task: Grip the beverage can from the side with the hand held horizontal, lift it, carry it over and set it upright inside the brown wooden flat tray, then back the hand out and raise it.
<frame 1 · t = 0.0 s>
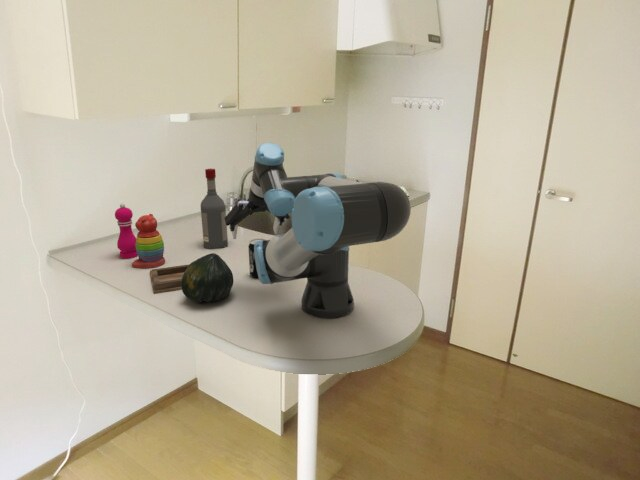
hand: (254, 233, 157), 15 cm above the countertop, tool tilted 35°, fingers open, 13 cm apart
liquor: (215, 245, 192), on the countertop
brown wooden flat tray: (175, 281, 158), on the countertop
pepper mill: (129, 256, 181), on the countertop
squash: (209, 298, 147), on the countertop
beverage can: (259, 275, 163), on the countertop
stacking bear: (151, 263, 173), on the countertop
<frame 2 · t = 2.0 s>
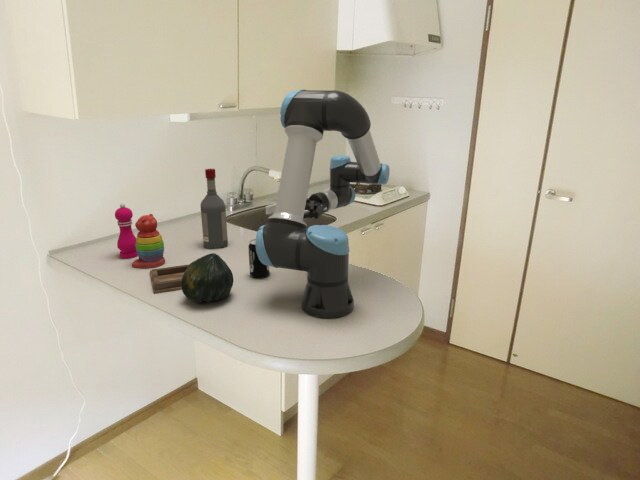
hand: (279, 214, 164), 19 cm above the countertop, tool horizontal, fingers open, 13 cm apart
nothing on the countertop moved.
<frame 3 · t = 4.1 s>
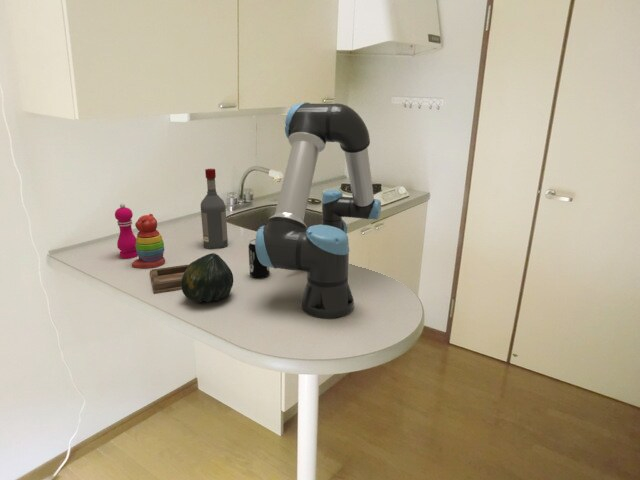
hand: (270, 251, 165), 7 cm above the countertop, tool horizontal, fingers open, 13 cm apart
nothing on the countertop moved.
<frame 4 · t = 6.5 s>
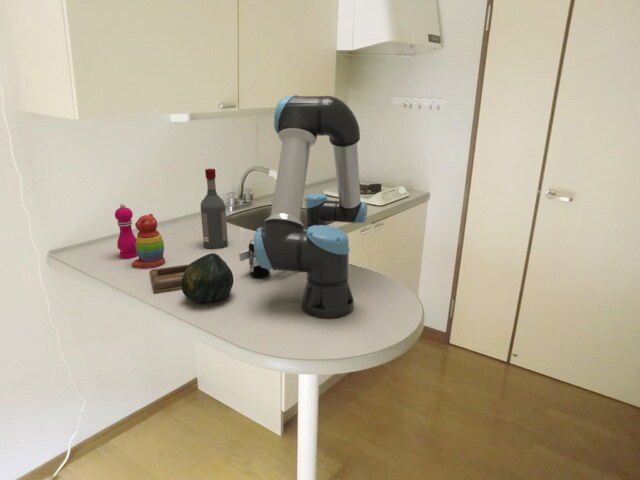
hand: (247, 259, 157), 7 cm above the countertop, tool horizontal, fingers closed on beverage can, 6 cm apart
beverage can: (259, 275, 163), on the countertop, touching gripper
everything else where it was.
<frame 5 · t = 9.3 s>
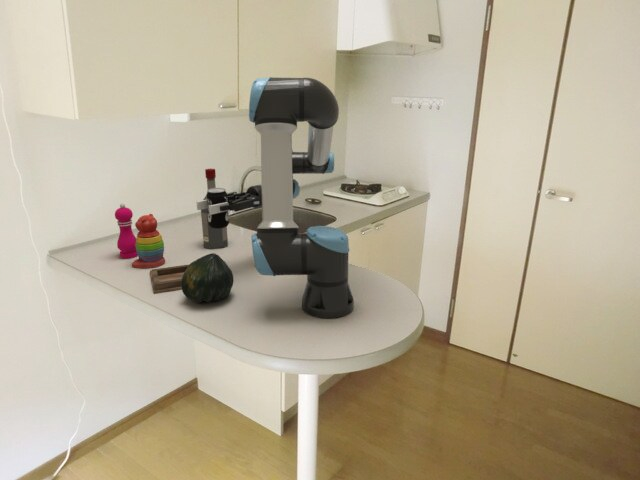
hand: (203, 208, 152), 24 cm above the countertop, tool horizontal, fingers closed on beverage can, 6 cm apart
beverage can: (219, 226, 158), point 17 cm above the countertop, touching gripper
everything else where it was.
when the fingers open (9 cm above the countertop, at t = 12.6 s): beverage can drops 1 cm, resting on brown wooden flat tray.
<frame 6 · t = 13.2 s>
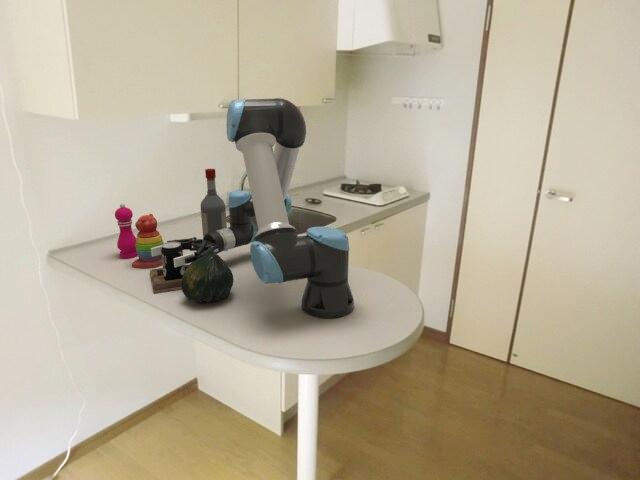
hand: (162, 257, 153), 9 cm above the countertop, tool horizontal, fingers open, 13 cm apart
beverage can: (174, 279, 158), point 1 cm above the countertop, touching brown wooden flat tray
everything else where it was.
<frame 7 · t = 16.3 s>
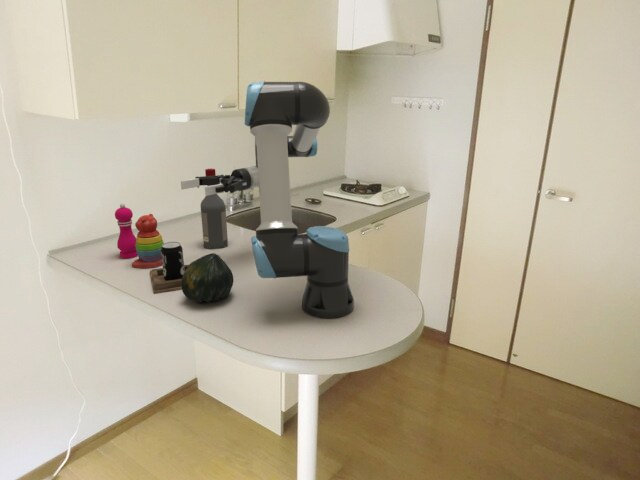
hand: (193, 188, 155), 29 cm above the countertop, tool horizontal, fingers open, 13 cm apart
nothing on the countertop moved.
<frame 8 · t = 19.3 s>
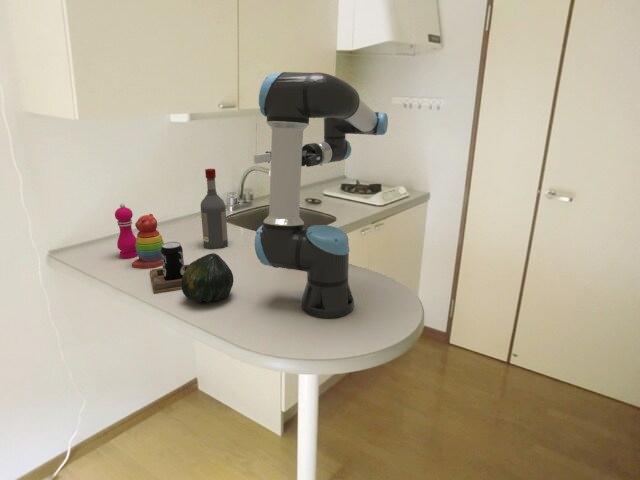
hand: (268, 161, 151), 38 cm above the countertop, tool horizontal, fingers open, 13 cm apart
nothing on the countertop moved.
at the end: beverage can 0.0 cm off-centre on the brown wooden flat tray, point 0.6 cm above the brown wooden flat tray's base; beverage can tilted 0°; the gripper is holding nothing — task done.
